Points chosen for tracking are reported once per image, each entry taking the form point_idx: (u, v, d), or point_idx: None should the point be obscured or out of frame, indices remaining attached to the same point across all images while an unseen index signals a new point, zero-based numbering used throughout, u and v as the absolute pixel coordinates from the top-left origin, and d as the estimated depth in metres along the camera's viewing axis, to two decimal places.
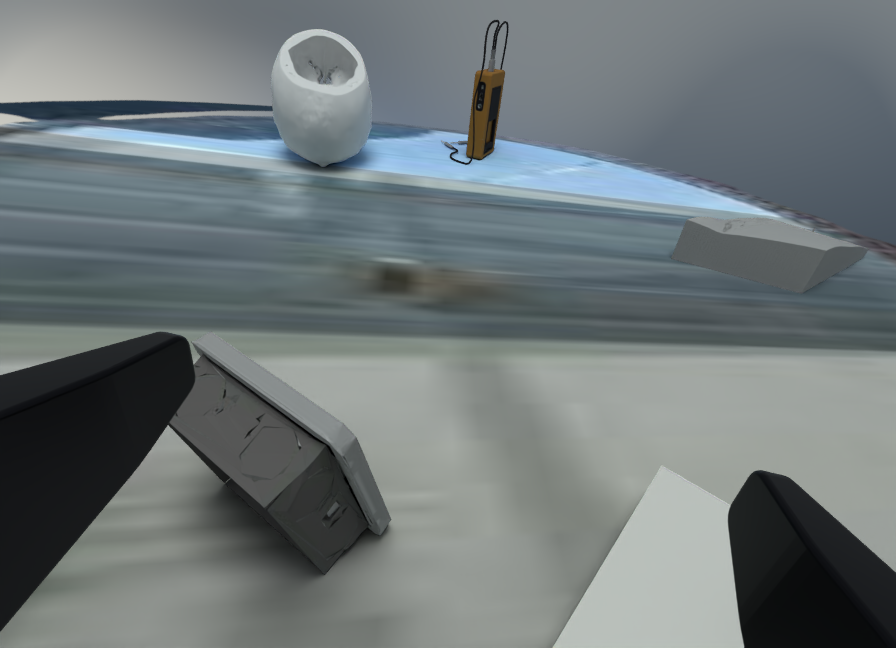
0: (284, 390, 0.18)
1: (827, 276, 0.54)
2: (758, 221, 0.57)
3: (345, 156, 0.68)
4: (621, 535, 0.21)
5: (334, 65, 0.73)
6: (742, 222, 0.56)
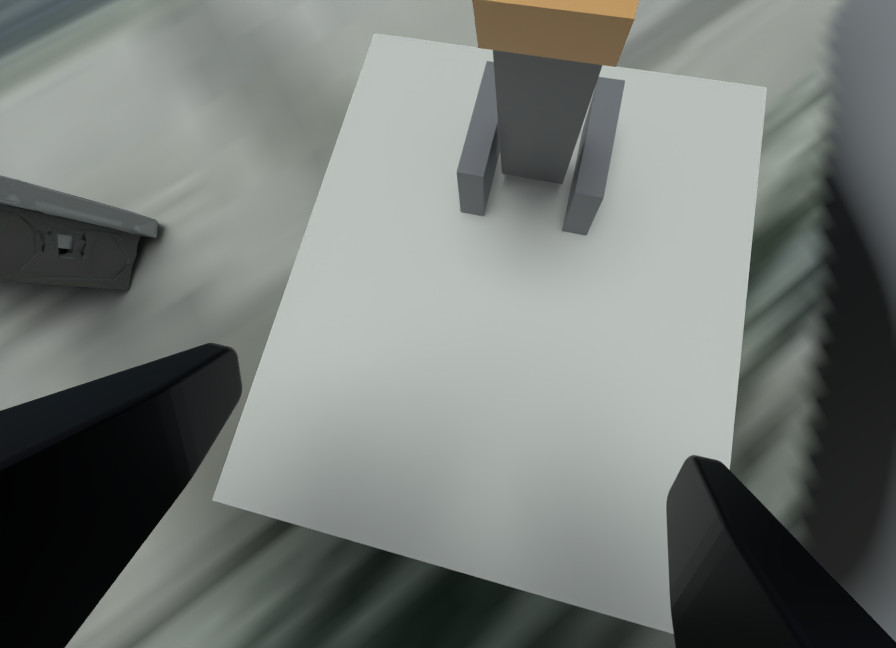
0: None
1: None
2: None
3: None
4: (343, 127, 0.22)
5: None
6: None
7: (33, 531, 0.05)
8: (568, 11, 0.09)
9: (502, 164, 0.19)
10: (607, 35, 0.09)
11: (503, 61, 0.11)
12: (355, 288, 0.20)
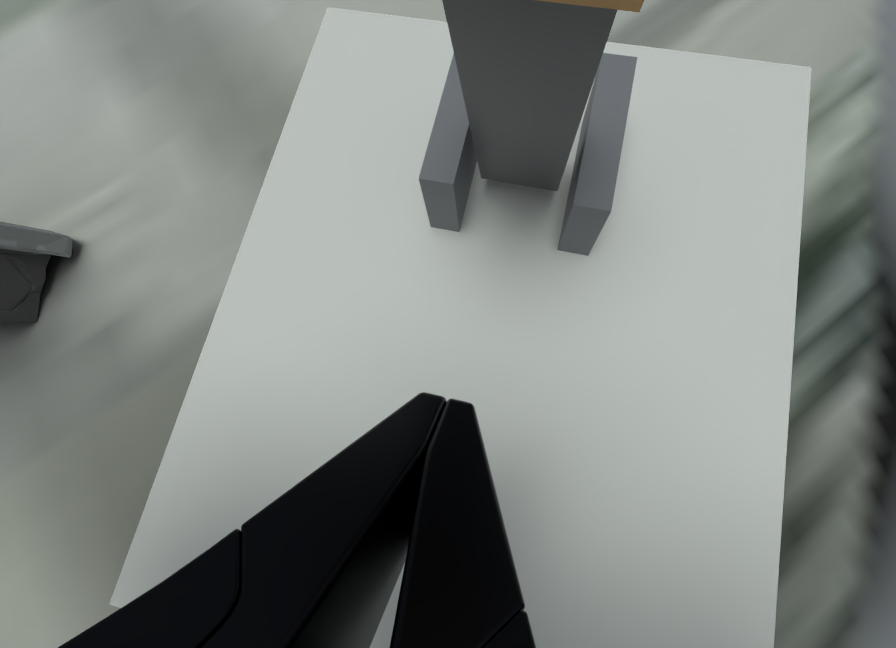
0: None
1: None
2: None
3: None
4: (287, 121, 0.18)
5: None
6: None
7: (343, 626, 0.05)
8: None
9: (480, 167, 0.15)
10: None
11: (460, 12, 0.07)
12: (298, 324, 0.16)
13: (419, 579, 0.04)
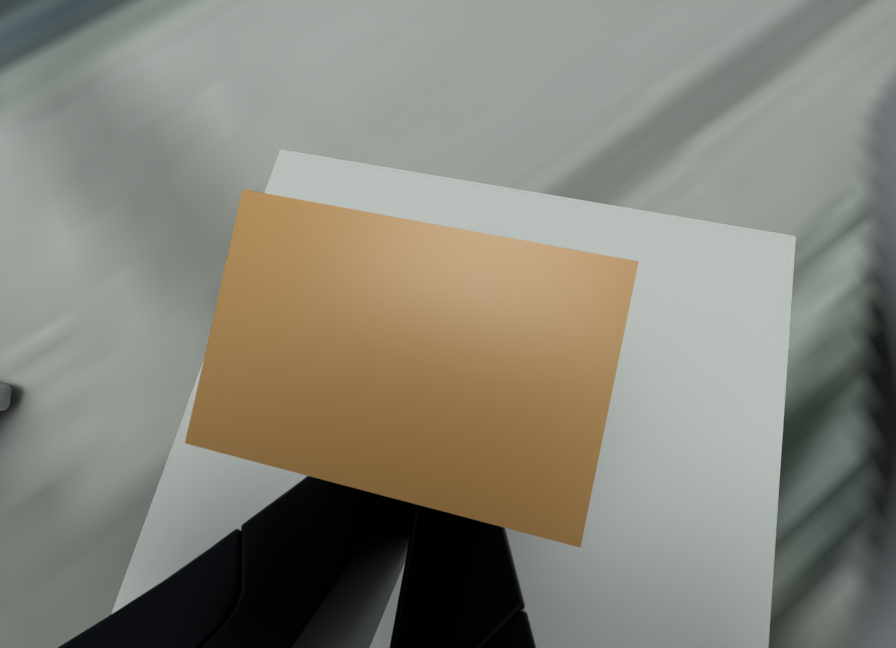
0: None
1: None
2: None
3: None
4: None
5: None
6: None
7: (343, 626, 0.05)
8: (413, 503, 0.03)
9: None
10: None
11: None
12: (237, 527, 0.14)
13: (419, 579, 0.04)
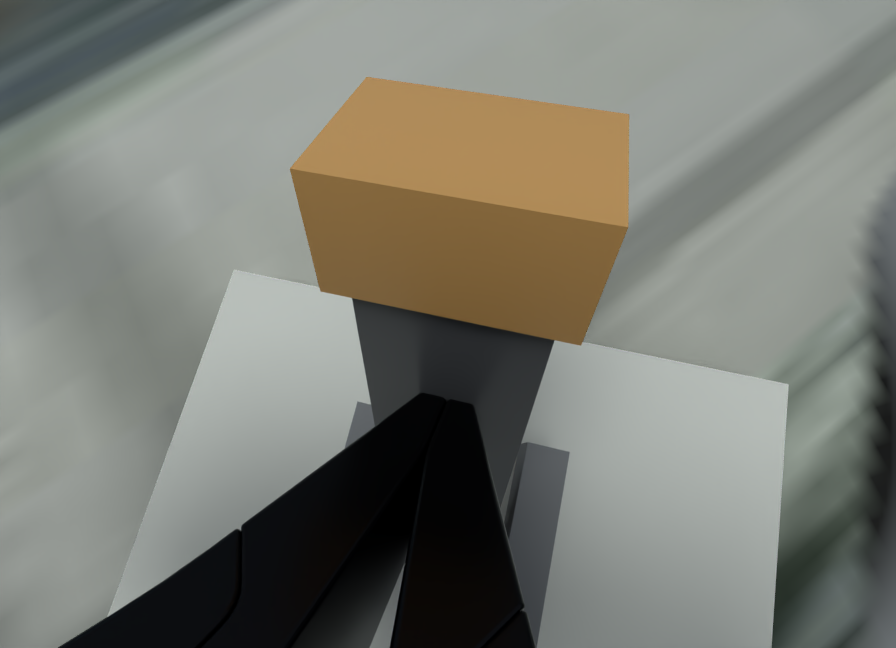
0: None
1: None
2: None
3: None
4: (179, 424, 0.15)
5: None
6: None
7: (343, 626, 0.05)
8: (486, 204, 0.04)
9: None
10: (567, 269, 0.04)
11: (374, 330, 0.06)
12: None
13: (420, 579, 0.04)
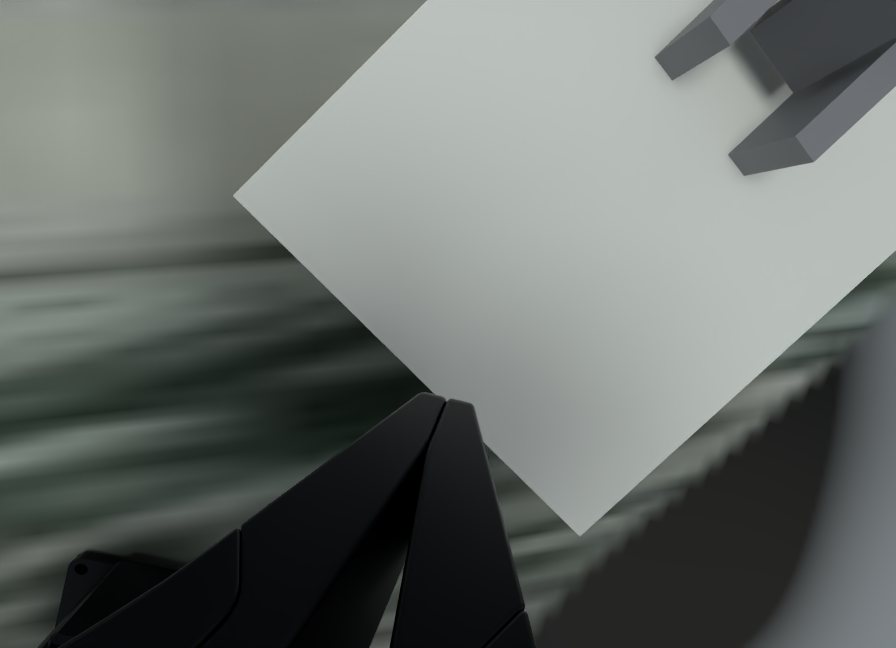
0: None
1: None
2: None
3: None
4: None
5: None
6: None
7: (343, 626, 0.05)
8: None
9: (788, 5, 0.14)
10: None
11: None
12: (495, 65, 0.16)
13: (420, 579, 0.04)
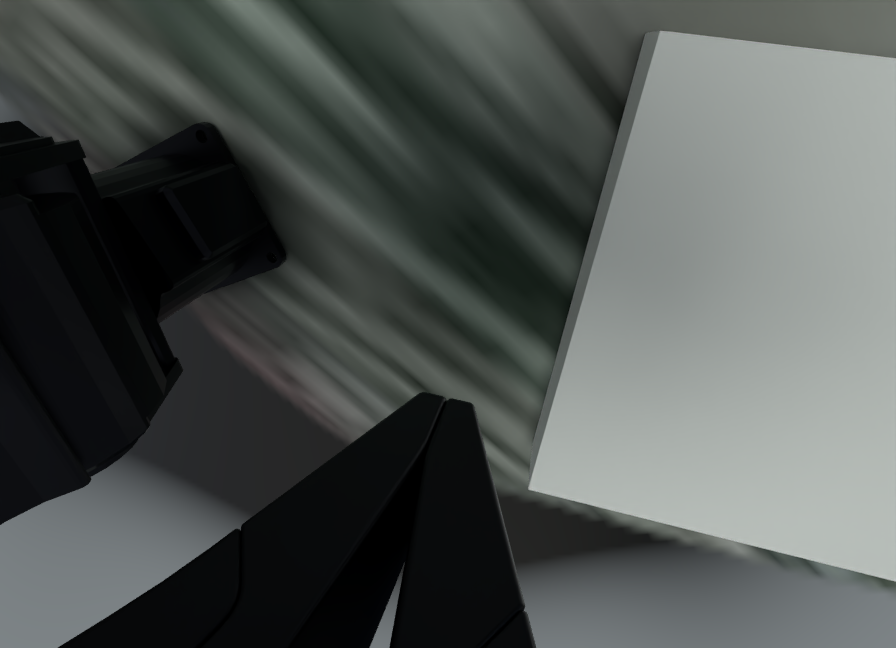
0: None
1: None
2: None
3: None
4: None
5: None
6: None
7: (344, 625, 0.05)
8: None
9: None
10: None
11: None
12: None
13: (420, 579, 0.04)
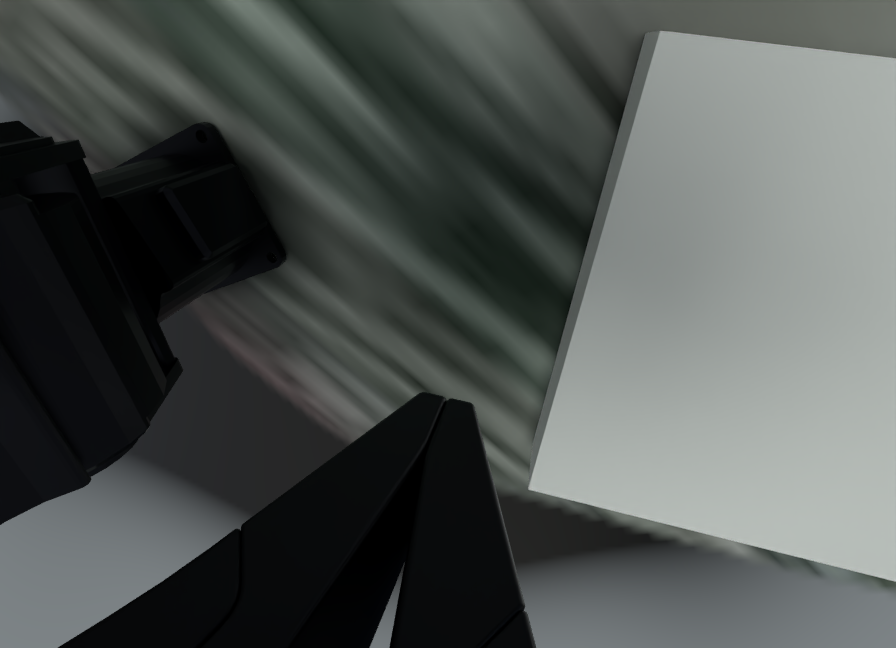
0: None
1: None
2: None
3: None
4: None
5: None
6: None
7: (343, 626, 0.05)
8: None
9: None
10: None
11: None
12: None
13: (420, 579, 0.04)
